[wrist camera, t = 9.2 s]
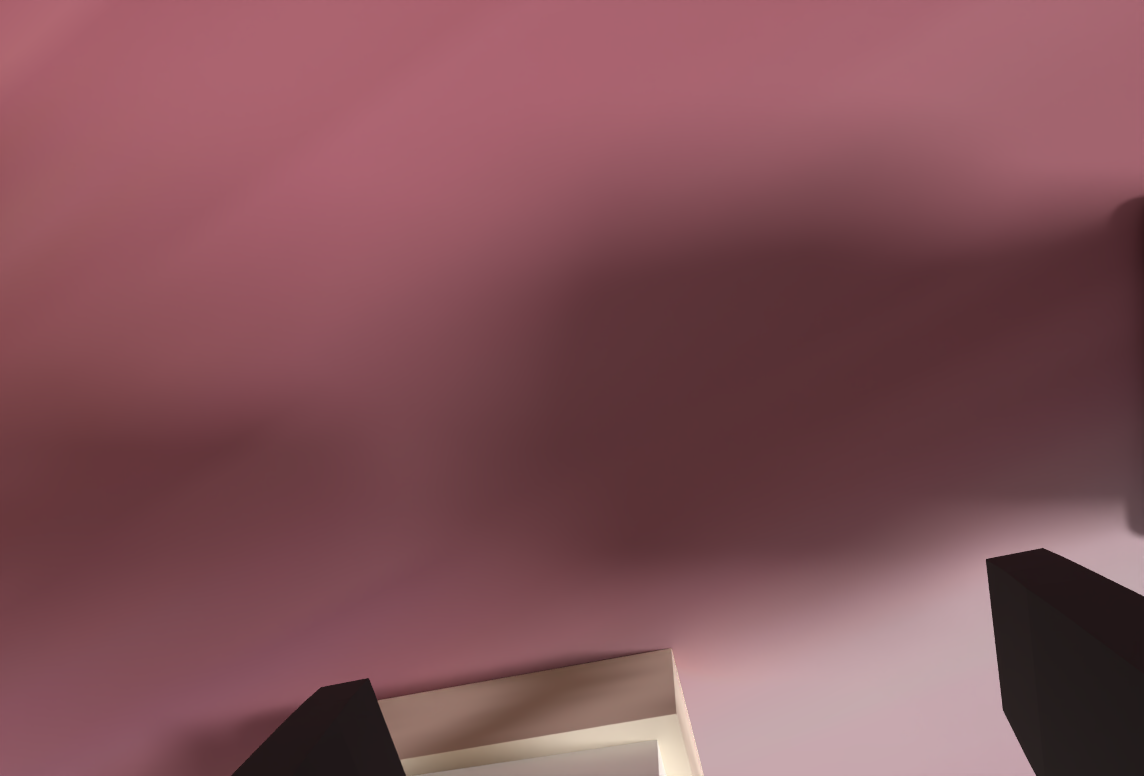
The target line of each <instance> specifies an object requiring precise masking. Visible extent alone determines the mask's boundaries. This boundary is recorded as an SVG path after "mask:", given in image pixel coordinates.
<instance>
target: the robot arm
mask: <svg viewBox="0 0 1144 776" xmlns="http://www.w3.org/2000/svg"><path fill="white" fill-rule="evenodd" d="M986 565H987V574H988V583H989V591H990V600H991V609H992V618H993V627H994V635H995V644H996V653H997V662H998V671H999V680H1000V688H1001V697H1002V706H1003V711H1004V713H1005V715H1006V717H1007V719H1008V721H1009V723H1010V725H1011V727H1012V729H1013V731H1014V733H1015V735H1016V737H1017V739H1018V741H1019V743H1020V745H1021V747H1022V749H1023V751H1024V753H1025V755H1026V757H1027V759H1028V761H1029V763H1030V765H1031V767H1032V769H1033V771H1034V772H1035V774H1036V776H1144V596H1142V595H1140V594H1138V593H1136V592H1134V591H1132V590H1130V589H1128V588H1126V587H1124V586H1122V585H1120V584H1118V583H1116V582H1114V581H1112V580H1110V579H1107V578H1105V577H1103V576H1101V575H1099V574H1097V573H1095V572H1093V571H1091V570H1089V569H1087V568H1085V567H1083V566H1081V565H1079V564H1077V563H1075V562H1073V561H1071V560H1068V559H1066V558H1064V557H1062V556H1060V555H1058V554H1055V553H1053V552H1051V551H1049V550H1046V549H1044V548H1041V549H1036V550H1031V551H1025V552H1020V553H1015V554H1010V555H1005V556H999V557H994V558H989V559H986ZM231 776H406V774H405V772H404V769H403V766H402V764H401V761H400V758H399V756H398V753H397V751H396V748H395V745H394V743H393V740H392V738H391V735H390V732H389V730H388V727H387V724H386V722H385V719H384V717H383V714H382V711H381V709H380V706H379V704H378V701H377V698H376V696H375V693H374V691H373V688H372V685H371V683H370V680H369V678H367V679H362V680H356V681H351V682H346V683H341V684H336V685H330V686H325V687H321V688H320V689H319V690H317V691H316V692H315V693H314V694H313V695H312V696H311V697H309V698H308V699H307V700H306V701H305V702H304V703H303V704H302V705H301V706H300V707H299V708H298V709H297V710H296V711H295V712H294V713H293V714H292V715H290V716H289V717H288V718H287V719H286V720H285V721H284V722H283V723H282V724H281V725H280V726H279V727H278V728H277V729H276V730H275V732H274V733H273V734H272V735H271V736H270V737H269V738H268V739H267V740H266V741H265V742H264V743H263V744H262V745H261V746H260V747H259V748H258V749H257V750H256V751H255V752H254V753H253V754H252V755H251V756H250V757H249V758H248V759H247V760H246V761H245V762H244V763H243V764H242V765H241V766H240V767H239V768H238V769H237V770H236V771H235V772H234V773H233V774H232V775H231Z"/></svg>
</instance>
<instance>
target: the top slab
mask: <svg viewBox="0 0 1144 776" xmlns="http://www.w3.org/2000/svg"><path fill="white" fill-rule="evenodd" d="M414 776H666V773H665V769H664V765H663V761H662V757H661V753H660V749H659V745H658V741H657V740H651V741H644V742H638V743H631V744H624V745H617V746H610V747H603V748H597V749H590V750H583V751H576V752H569V753H563V754H556V755H549V756H542V757H536V758H529V759H522V760H515V761H509V762H502V763H495V764H488V765H482V766H475V767H468V768H461V769H455V770H448V771H441V772H435V773H428V774H421V775H414Z"/></svg>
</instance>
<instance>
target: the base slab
mask: <svg viewBox="0 0 1144 776" xmlns="http://www.w3.org/2000/svg"><path fill="white" fill-rule="evenodd" d="M377 701H378V704H379V706H380V709H381V711H382V714H383V717H384V719H385V722H386V724H387V727H388V730H389V732H390V735H391V738H392V740H393V743H394V745H395V748H396V751H397V753H398V756H399V758H400V761H401V764H402V766H403V769H404V772H405V774H406V776H414V775H421V774H428V773H435V772H441V771H448V770H455V769H461V768H468V767H475V766H482V765H488V764H495V763H502V762H509V761H515V760H522V759H529V758H536V757H542V756H549V755H556V754H563V753H569V752H576V751H583V750H590V749H597V748H603V747H610V746H617V745H624V744H631V743H638V742H644V741H651V740H657V741H658V745H659V749H660V753H661V757H662V761H663V765H664V769H665V773H666V776H704V774H703V771H702V767H701V763H700V759H699V755H698V751H697V747H696V743H695V739H694V735H693V731H692V727H691V723H690V719H689V715H688V712H687V708H686V704H685V700H684V696H683V692H682V688H681V684H680V680H679V676H678V672H677V668H676V664H675V660H674V656H673V653H672V649H671V648H670V649H664V650H658V651H653V652H647V653H641V654H636V655H630V656H624V657H619V658H613V659H608V660H602V661H596V662H591V663H585V664H579V665H574V666H568V667H563V668H557V669H551V670H546V671H540V672H534V673H529V674H523V675H518V676H512V677H506V678H501V679H495V680H489V681H484V682H478V683H472V684H467V685H461V686H456V687H450V688H444V689H439V690H433V691H427V692H422V693H416V694H411V695H405V696H399V697H394V698H388V699H382V700H377Z"/></svg>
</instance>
